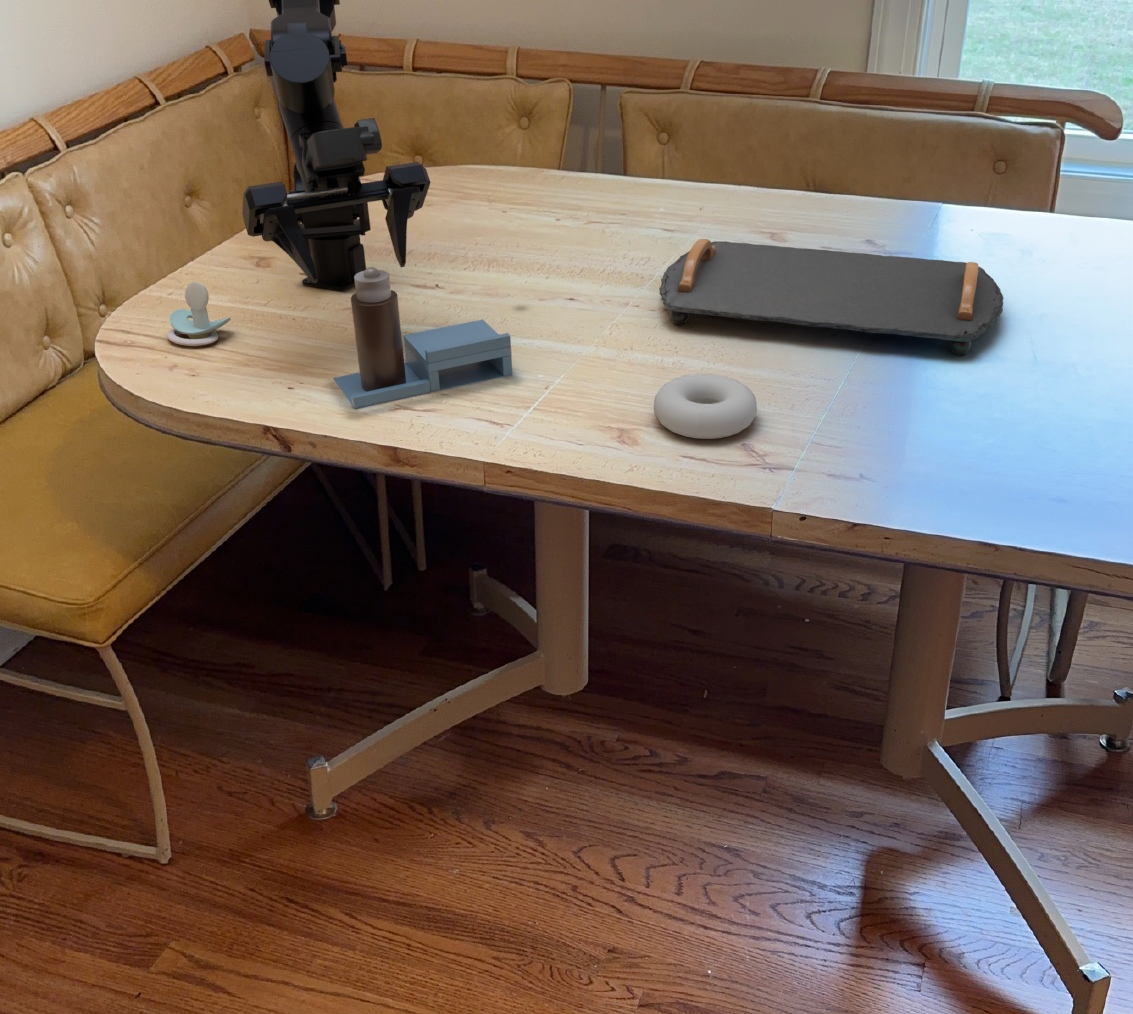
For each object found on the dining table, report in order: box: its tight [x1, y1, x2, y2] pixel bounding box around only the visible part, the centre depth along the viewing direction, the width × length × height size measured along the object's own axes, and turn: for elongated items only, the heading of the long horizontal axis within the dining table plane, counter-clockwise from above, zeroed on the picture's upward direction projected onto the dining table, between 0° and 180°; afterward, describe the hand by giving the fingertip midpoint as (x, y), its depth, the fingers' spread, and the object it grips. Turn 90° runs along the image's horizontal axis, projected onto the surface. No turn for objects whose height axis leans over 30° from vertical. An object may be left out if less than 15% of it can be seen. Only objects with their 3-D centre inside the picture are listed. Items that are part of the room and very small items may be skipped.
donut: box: [653, 373, 758, 440], centre depth 117 cm, size 10×4×10 cm
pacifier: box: [166, 281, 232, 347], centre depth 136 cm, size 7×6×6 cm
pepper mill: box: [350, 266, 406, 392], centre depth 121 cm, size 5×5×13 cm
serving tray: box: [659, 238, 1004, 357], centre depth 139 cm, size 39×23×6 cm, turn 72°
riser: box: [333, 319, 513, 410], centre depth 125 cm, size 8×17×5 cm, turn 115°
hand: (360, 272), depth 122 cm, fingers open, 9 cm apart
